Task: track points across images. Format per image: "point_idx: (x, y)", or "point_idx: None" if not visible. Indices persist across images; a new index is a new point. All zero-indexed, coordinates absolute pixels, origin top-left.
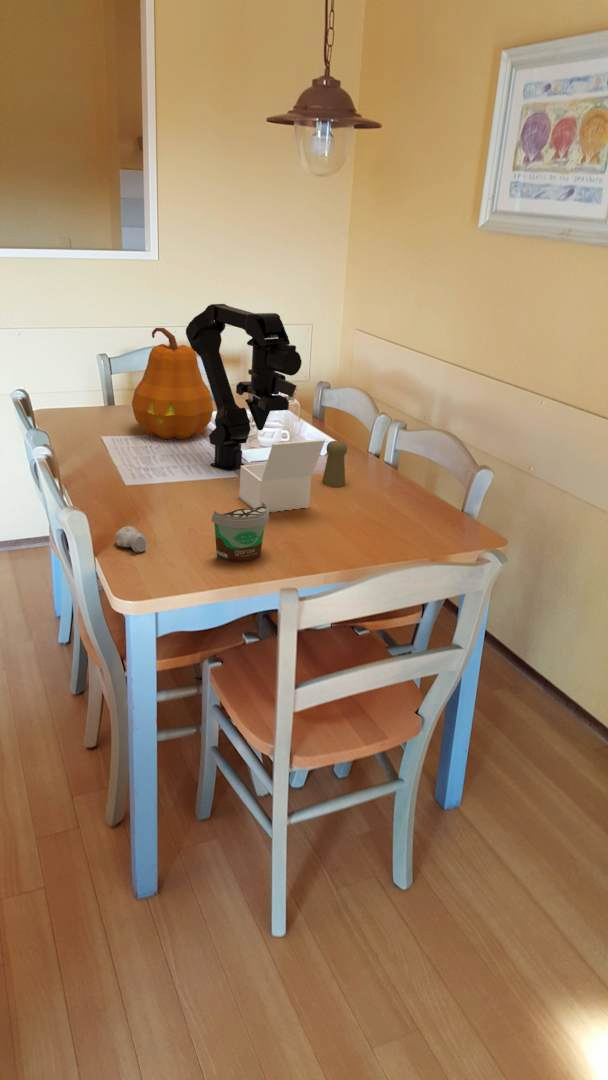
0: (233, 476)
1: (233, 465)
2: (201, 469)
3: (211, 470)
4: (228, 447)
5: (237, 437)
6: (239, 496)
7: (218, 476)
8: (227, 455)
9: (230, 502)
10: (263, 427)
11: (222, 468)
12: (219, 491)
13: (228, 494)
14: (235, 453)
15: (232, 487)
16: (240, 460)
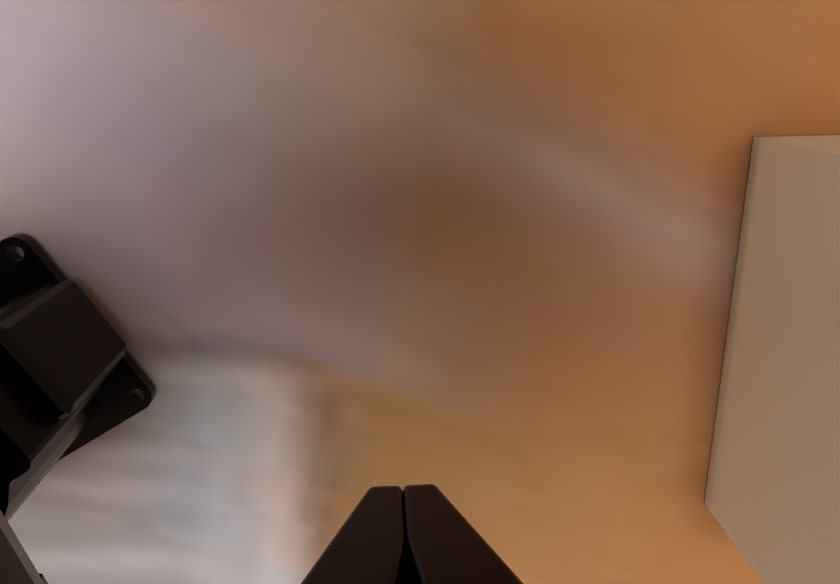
0: (281, 401)
1: (112, 368)
2: (86, 557)
3: (117, 503)
4: (13, 500)
5: (4, 519)
6: (709, 508)
7: (260, 497)
8: (54, 458)
9: (750, 571)
10: (454, 507)
11: (104, 431)
12: (550, 574)
13: (620, 541)
14: (72, 412)
15: (506, 480)
16: (66, 313)
